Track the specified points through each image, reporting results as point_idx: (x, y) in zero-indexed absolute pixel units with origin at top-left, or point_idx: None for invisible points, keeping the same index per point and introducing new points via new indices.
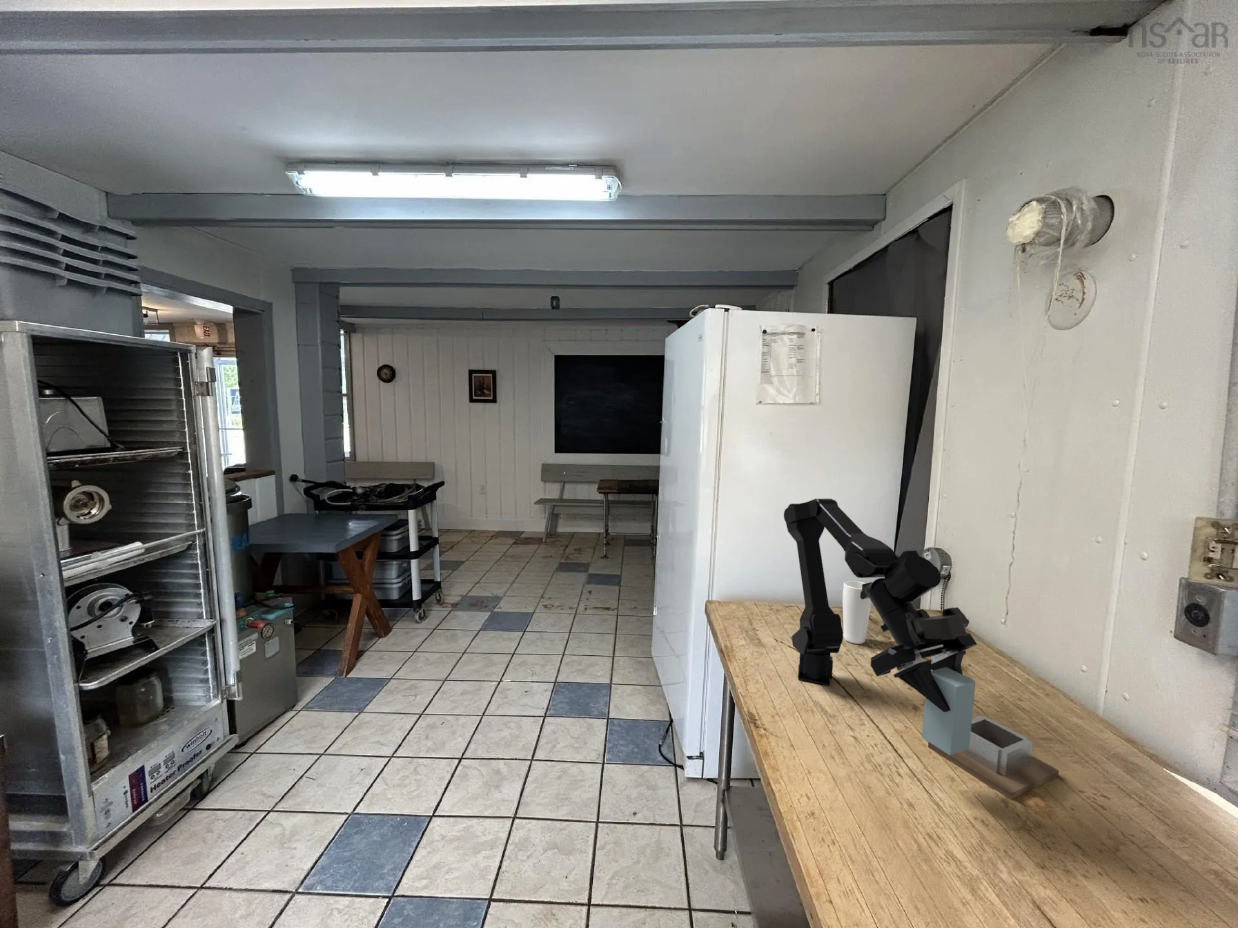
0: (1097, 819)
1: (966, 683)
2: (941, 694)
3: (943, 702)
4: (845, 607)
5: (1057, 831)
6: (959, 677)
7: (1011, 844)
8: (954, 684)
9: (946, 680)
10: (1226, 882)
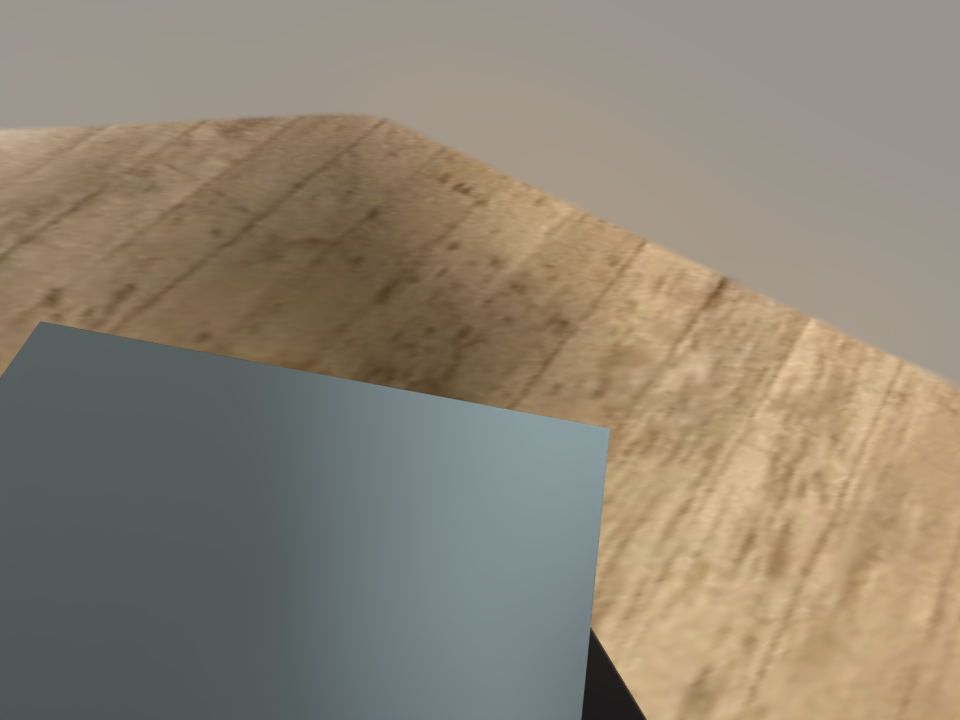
0: (206, 288)
1: (290, 372)
2: (593, 712)
3: (604, 653)
4: None
5: (364, 335)
6: (87, 559)
7: (549, 392)
8: (541, 493)
9: (511, 696)
10: (250, 119)
